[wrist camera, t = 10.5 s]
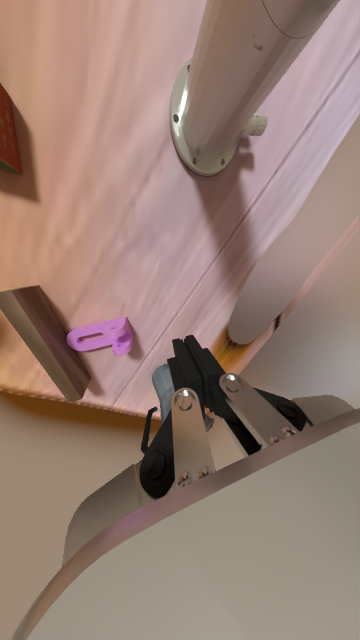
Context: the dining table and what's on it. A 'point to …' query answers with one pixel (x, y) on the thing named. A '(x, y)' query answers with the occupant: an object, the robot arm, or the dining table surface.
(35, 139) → the dining table surface
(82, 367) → the walnut board
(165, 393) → the moka pot
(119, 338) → the bracket
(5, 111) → the carton
